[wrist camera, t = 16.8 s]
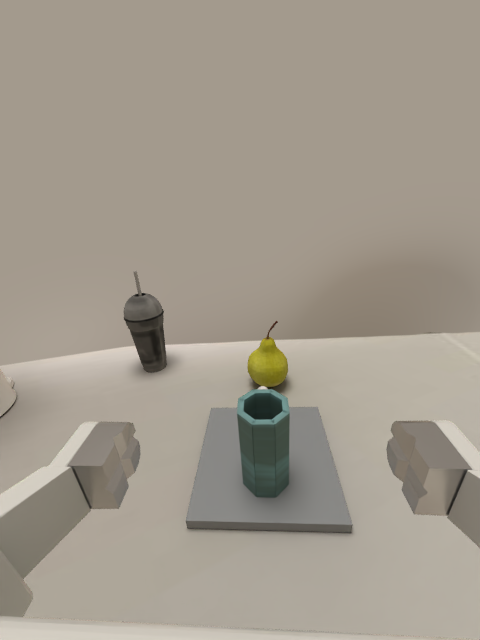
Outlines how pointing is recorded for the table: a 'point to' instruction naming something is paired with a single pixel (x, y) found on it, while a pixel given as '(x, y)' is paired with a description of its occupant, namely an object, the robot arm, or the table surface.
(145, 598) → the table surface
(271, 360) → the fruit
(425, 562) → the table surface
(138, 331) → the beverage cup
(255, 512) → the pin board
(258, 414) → the sleeve
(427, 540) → the table surface
